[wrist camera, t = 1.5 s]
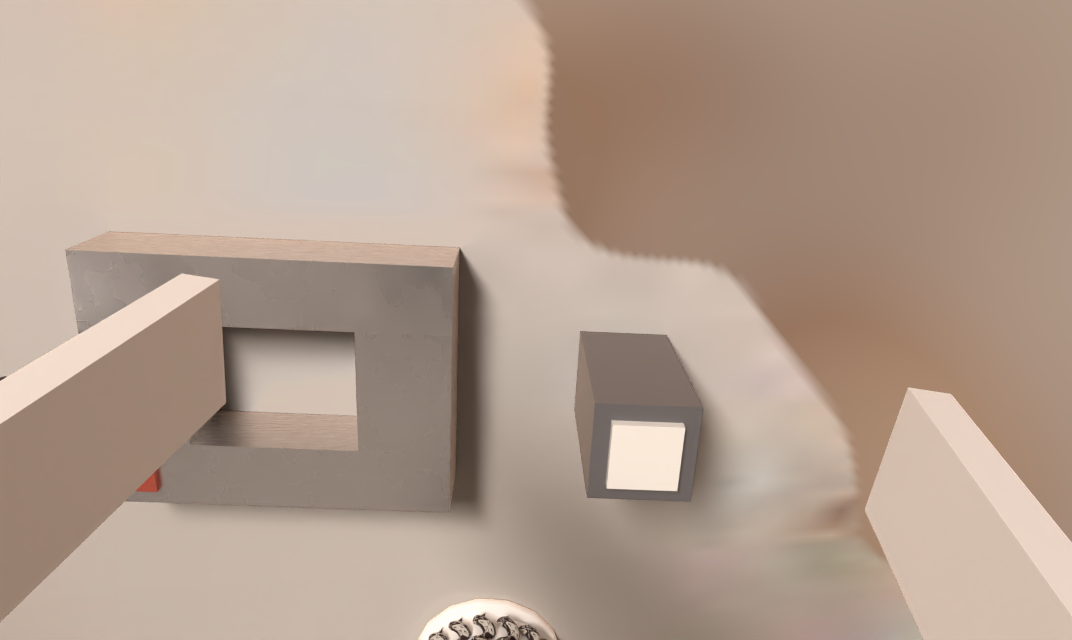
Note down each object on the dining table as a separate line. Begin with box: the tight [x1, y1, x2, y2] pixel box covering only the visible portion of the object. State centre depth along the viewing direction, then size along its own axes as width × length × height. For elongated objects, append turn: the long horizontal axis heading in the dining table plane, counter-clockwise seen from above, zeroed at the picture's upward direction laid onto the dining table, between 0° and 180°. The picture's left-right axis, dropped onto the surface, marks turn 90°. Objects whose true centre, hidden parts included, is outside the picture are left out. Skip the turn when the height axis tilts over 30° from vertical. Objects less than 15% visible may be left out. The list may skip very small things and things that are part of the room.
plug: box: [574, 331, 703, 502], centre depth 33 cm, size 4×4×8 cm
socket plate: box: [65, 231, 460, 513], centre depth 35 cm, size 12×16×4 cm
